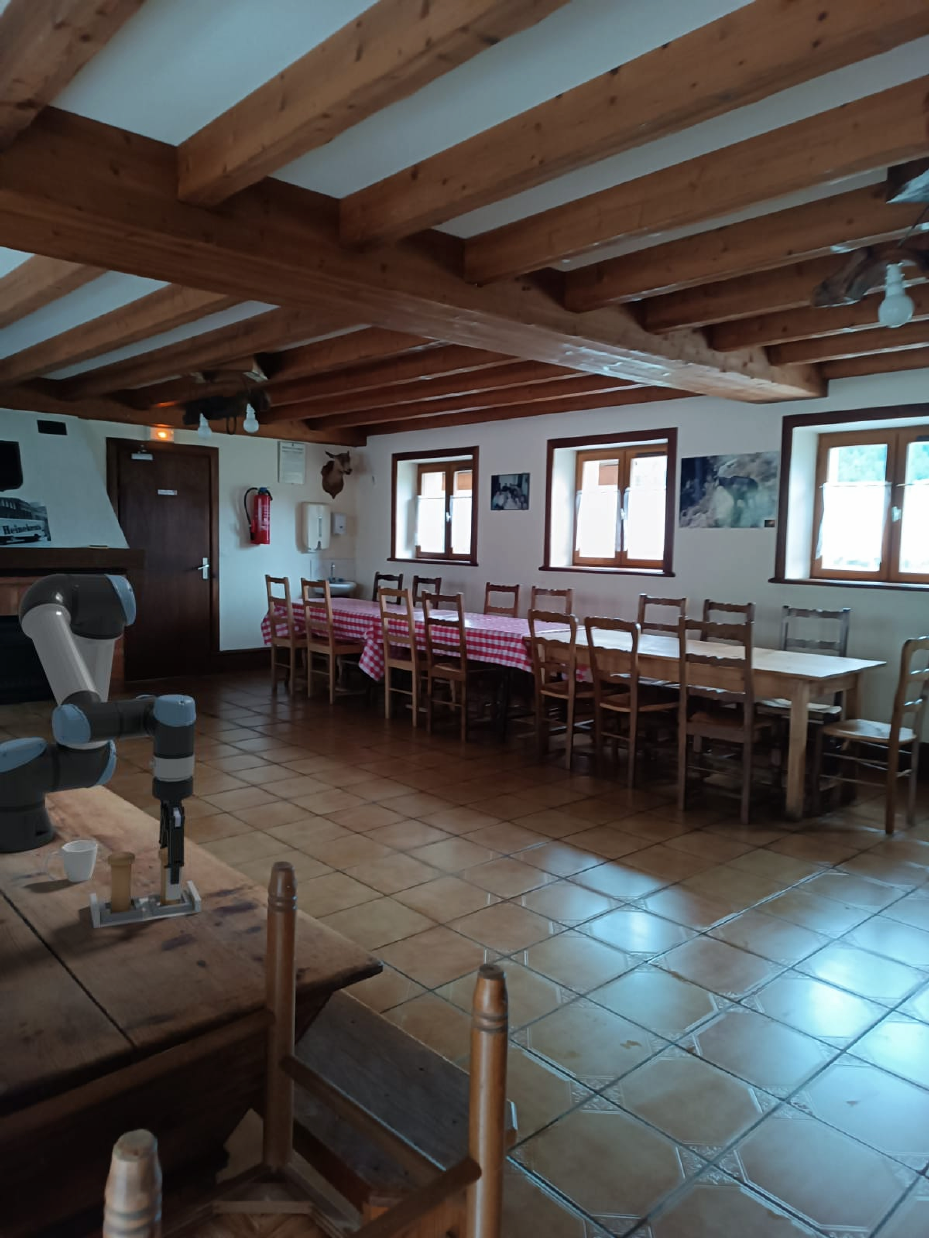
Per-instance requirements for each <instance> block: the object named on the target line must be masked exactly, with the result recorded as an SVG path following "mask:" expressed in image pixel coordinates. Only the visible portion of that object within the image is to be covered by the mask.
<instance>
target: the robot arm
mask: <svg viewBox="0 0 929 1238" xmlns="http://www.w3.org/2000/svg"><path fill="white" fill-rule="evenodd" d="M136 604H137V603H136V599H135V594H134V591H133V587H132V585H131V583H130V582H129V581H128V579H127V578H125V577H124V576H121V575H117V574H116V575H114V574H107V573H103V574H94V573H93V574H84V573H83V574H81V573H80V574H79V573H78V574H77V573H75V574H72V573H70V574H69V573H55V574H50V575H46V576H44V577H41V578H40V579H37V581H35V582H34V583H32V585H30V586H29V588H28V589H27V590H26V591H25V592H24V594H23V596H22V598H21V601H20V602H19V606H18V620H19V624H20V626H21V629H22V631H23V633H24V634H25V635H26V636H27V637H28V638H30V639H32V643H33V645H34V647H35V651H36V652H37V655H38V657H39V660H40V663H41V665H42V667H43V670H44V672H45V673H44V674H45V675H46V678H47V681H48V683H49V686H50V688H51V690H52V694H53V696H54V698H55V700H56V701H55V702H56V703H57V707H55V708H54V710H53V711H52V716H51V727H52V732H53V733H52V734H53V737H54V740H55V742H50V743H47V741H46V739H44V738H42V737H35V736H34V737H30V738H29V737H23V738H17V739H13V740H8V741H5V742H3V743H1V744H0V853H12V852H13V853H15V852H23V851H28V850H33V849H37V848H39V847H43V846H45V845H47V844H48V843H50V842H51V841H52V840H53V838H54V826H53V824H52V821H51V818H50V816H49V813H48V810H47V806H46V794H51V793H58V792H65V791H73V790H79V789H80V790H81V789H91V788H94V787H98V786H103V785H105V784H107V783H108V782H109V781H110V779H111V778H112V776H113V774H114V771H115V768H116V763H117V756H116V754H117V749H116V745H115V742H114V741H116V740H117V741H118V740H119V741H120V740H128V739H137V738H146V737H149V738H151V739H153V740H152V742H153V744H152V749H153V750H152V755H153V756H152V758H153V760H149V765H150V766H152V775H153V778H152V780H151V782H152V784H151V786H152V787H151V796H152V797H153V798H154V799H155V800H158V801H160V805H159V806H160V807H159V810H160V811H159V812H160V813H159V814H160V815H159V835H158V837H159V840H158V844H159V850H160V849H162V848H166V847H167V849H168V864H167V865H164V869H166V900H174V899H181V890H182V878H183V877H182V874H183V872H182V871H183V870H182V869H183V868H184V867H185V823H186V821H185V820H186V815H185V812H186V811H185V806H183V803H182V801H183V800H185V799H188V798H190V797H192V796H193V793H194V777H193V774H194V772H195V737H196V736H195V735H196V721H197V720H196V719H197V713H196V703H195V702H196V701H195V699H194V698H193V697H191V696H189V695H183V694H165V695H160V696H155V695H153V694H152V695H150V694H149V695H148V694H142V695H138V696H136V697H135V698H134V699H125V700H113V701H108V698H109V691H110V690H109V689H110V682H111V673H112V668H113V667H112V666H113V658H114V651H115V644H116V641H118V639H120V638H121V637H123V635H124V629H125V628H124V627H128V626H130V625H133V623H134V622H135V619H136V615H137V612H136V610H137V606H136ZM159 860H160V859H159ZM159 864H160V865H159V886H161V860H160V861H159Z"/></svg>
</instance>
